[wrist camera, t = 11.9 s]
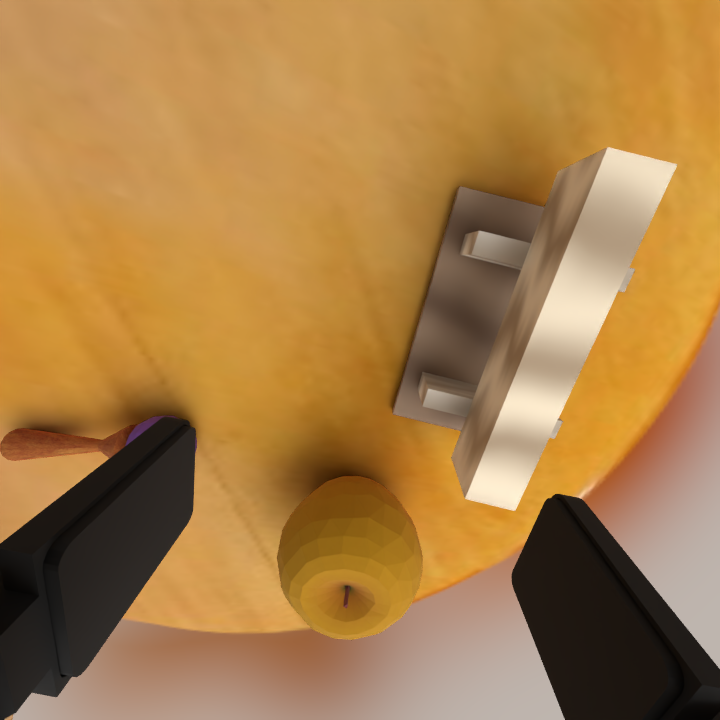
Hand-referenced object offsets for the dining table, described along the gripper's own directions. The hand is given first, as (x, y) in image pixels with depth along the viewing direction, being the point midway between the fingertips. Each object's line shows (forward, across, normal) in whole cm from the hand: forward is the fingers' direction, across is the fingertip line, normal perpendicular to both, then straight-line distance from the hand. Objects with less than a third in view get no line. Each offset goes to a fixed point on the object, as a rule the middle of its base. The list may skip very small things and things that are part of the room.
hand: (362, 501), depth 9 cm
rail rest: (+22, -11, -2) cm, 25 cm away
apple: (+22, -2, +20) cm, 30 cm away
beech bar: (+17, -11, -2) cm, 21 cm away
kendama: (+23, +25, +18) cm, 38 cm away
